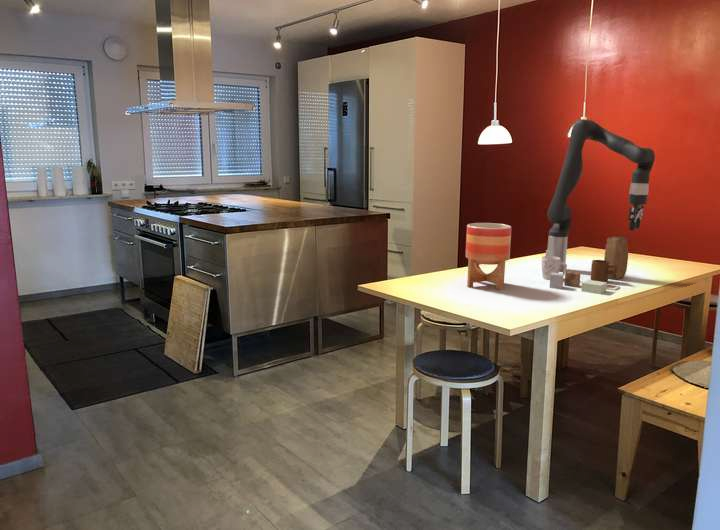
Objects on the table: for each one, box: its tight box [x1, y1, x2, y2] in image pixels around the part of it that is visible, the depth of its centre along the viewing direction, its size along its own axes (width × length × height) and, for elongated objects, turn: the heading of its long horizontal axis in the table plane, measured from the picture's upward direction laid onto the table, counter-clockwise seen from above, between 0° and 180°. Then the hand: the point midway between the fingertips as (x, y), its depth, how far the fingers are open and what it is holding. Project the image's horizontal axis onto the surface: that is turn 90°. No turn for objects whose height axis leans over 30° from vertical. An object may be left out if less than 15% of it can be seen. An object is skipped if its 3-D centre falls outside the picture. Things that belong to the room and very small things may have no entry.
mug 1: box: [541, 255, 568, 281], centre depth 272 cm, size 11×8×10 cm
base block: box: [580, 279, 608, 295], centre depth 249 cm, size 8×8×4 cm
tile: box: [606, 283, 621, 291], centre depth 256 cm, size 7×7×1 cm
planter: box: [465, 222, 512, 291], centre depth 256 cm, size 20×20×27 cm
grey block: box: [549, 272, 565, 290], centre depth 255 cm, size 5×5×6 cm
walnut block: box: [563, 270, 581, 288], centre depth 259 cm, size 5×5×6 cm
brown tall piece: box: [603, 235, 629, 280], centre depth 275 cm, size 11×8×20 cm
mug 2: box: [590, 259, 618, 283], centre depth 267 cm, size 12×8×9 cm, turn 39°
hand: (634, 229), depth 260 cm, fingers open, 8 cm apart
